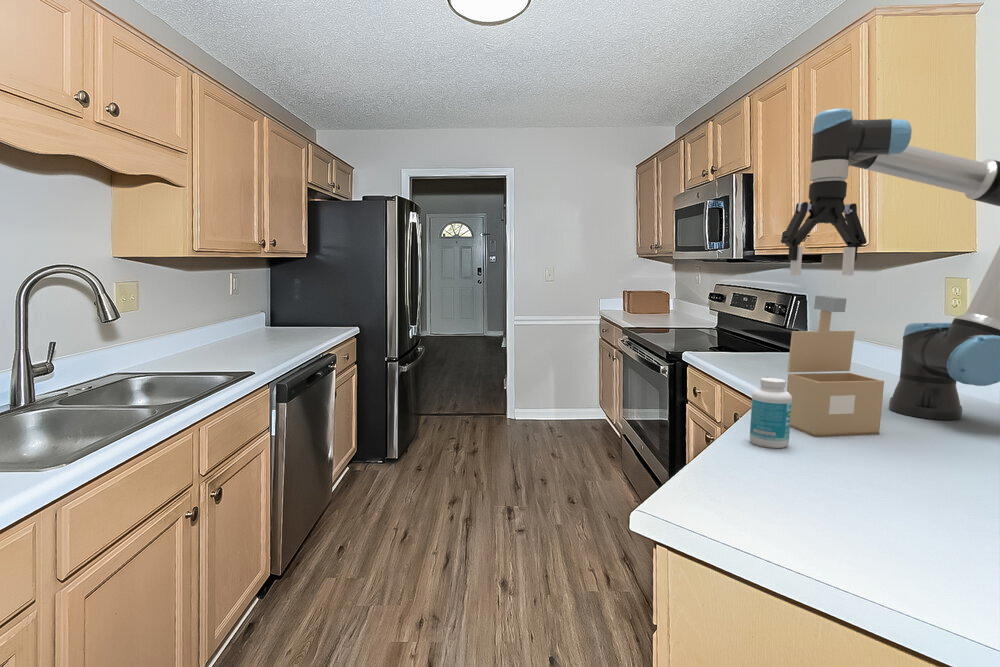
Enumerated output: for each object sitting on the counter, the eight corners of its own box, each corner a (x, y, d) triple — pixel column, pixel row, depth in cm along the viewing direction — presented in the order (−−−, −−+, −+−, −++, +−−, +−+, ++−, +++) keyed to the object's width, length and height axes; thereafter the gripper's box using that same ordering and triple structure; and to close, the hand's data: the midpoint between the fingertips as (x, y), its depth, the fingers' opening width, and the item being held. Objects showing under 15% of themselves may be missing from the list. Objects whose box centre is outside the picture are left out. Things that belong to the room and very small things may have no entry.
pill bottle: (793, 450, 115) (798, 384, 114) (753, 447, 117) (758, 382, 115) (782, 439, 123) (787, 377, 121) (745, 437, 124) (749, 375, 122)
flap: (861, 374, 132) (842, 368, 138) (871, 298, 129) (851, 295, 135) (799, 376, 129) (782, 369, 135) (808, 298, 126) (790, 295, 132)
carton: (845, 422, 137) (849, 372, 136) (879, 434, 127) (884, 381, 126) (784, 424, 135) (788, 373, 133) (814, 437, 125) (819, 382, 123)
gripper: (863, 185, 137) (856, 275, 140) (768, 182, 133) (762, 274, 136) (889, 181, 130) (881, 275, 132) (789, 177, 126) (783, 275, 128)
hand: (821, 275), depth 134 cm, fingers open, 13 cm apart
